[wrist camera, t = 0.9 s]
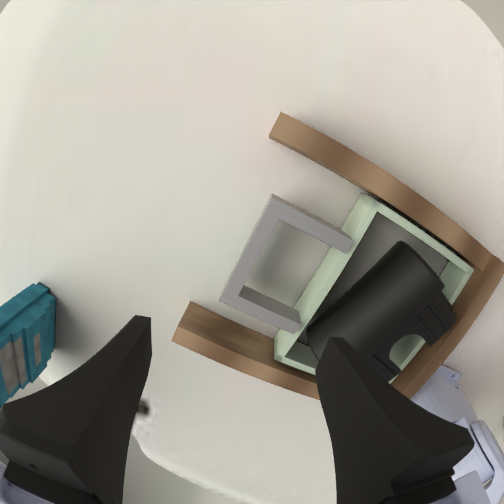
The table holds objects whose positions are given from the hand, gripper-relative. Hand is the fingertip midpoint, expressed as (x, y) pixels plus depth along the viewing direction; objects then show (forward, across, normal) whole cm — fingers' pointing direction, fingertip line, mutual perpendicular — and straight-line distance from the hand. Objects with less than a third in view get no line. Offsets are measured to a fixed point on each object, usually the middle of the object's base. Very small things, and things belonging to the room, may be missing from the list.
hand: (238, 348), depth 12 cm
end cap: (+11, -12, +3) cm, 17 cm away
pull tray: (+11, -9, +3) cm, 15 cm away
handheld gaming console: (+15, +20, +14) cm, 28 cm away
